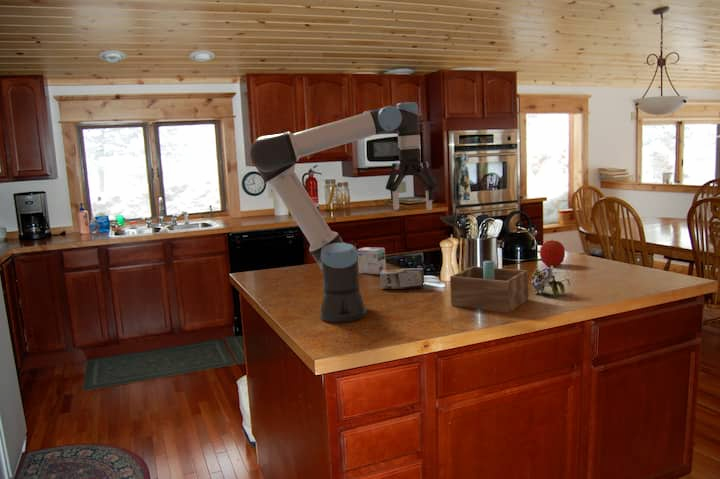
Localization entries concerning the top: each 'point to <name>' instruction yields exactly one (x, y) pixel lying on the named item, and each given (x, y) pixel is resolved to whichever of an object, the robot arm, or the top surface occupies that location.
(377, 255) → the light bulb box
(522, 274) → the crate
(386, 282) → the coffee box
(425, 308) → the top surface
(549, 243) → the red round piece
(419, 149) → the robot arm
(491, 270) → the peg
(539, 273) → the passion flower
